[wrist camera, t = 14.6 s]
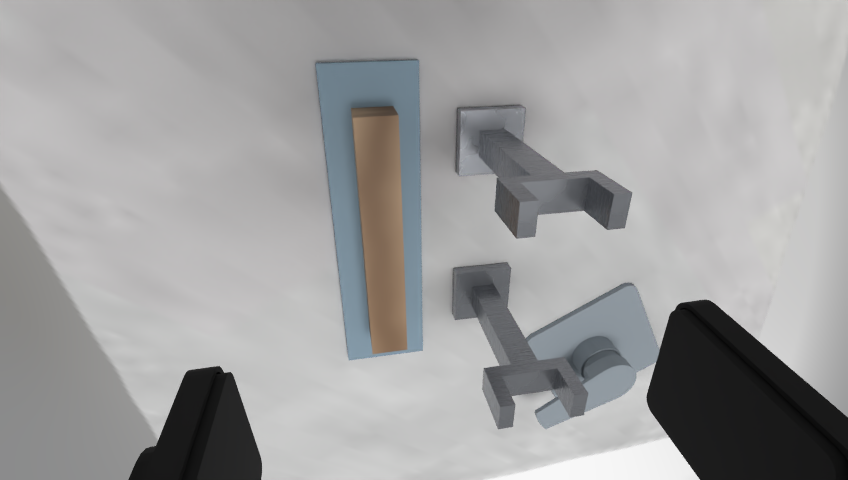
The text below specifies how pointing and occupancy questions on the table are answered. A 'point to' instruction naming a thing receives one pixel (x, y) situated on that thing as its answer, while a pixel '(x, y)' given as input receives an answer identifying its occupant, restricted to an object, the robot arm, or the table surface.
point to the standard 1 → (510, 346)
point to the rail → (381, 223)
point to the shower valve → (598, 348)
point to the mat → (337, 96)
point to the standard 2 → (531, 173)
